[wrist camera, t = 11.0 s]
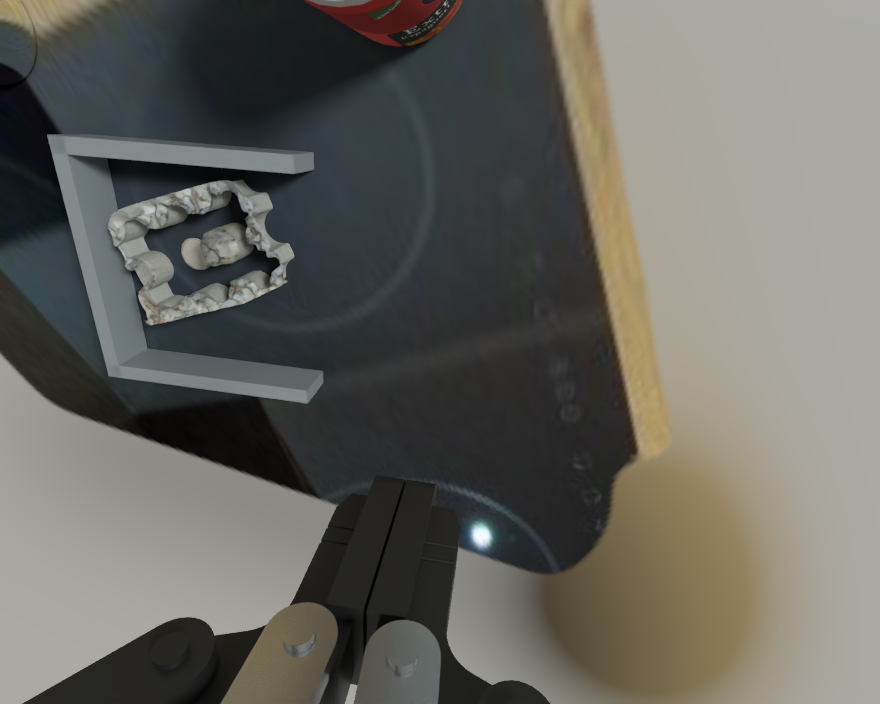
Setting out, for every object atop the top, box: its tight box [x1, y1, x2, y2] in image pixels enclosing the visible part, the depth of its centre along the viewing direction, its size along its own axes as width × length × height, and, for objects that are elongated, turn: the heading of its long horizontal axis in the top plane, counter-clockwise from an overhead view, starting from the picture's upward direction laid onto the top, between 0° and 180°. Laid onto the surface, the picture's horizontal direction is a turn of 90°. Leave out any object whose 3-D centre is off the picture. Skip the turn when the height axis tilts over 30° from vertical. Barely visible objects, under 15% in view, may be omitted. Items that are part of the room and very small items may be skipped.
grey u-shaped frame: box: [47, 134, 323, 403], centre depth 32 cm, size 16×15×3 cm
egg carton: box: [108, 180, 294, 325], centre depth 31 cm, size 11×8×4 cm
